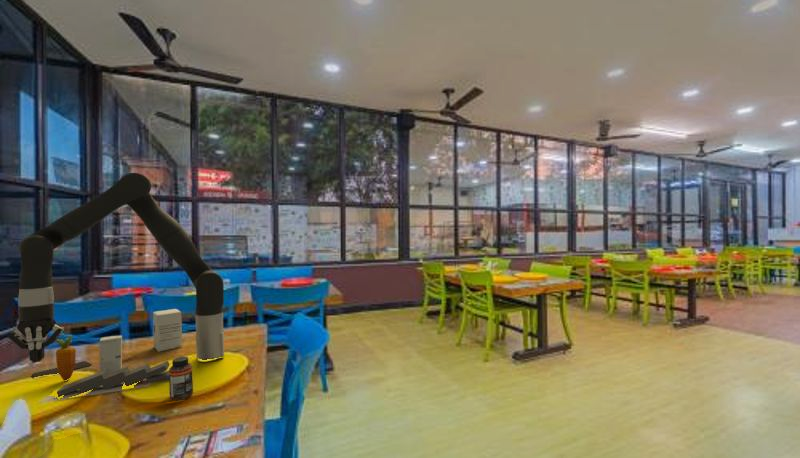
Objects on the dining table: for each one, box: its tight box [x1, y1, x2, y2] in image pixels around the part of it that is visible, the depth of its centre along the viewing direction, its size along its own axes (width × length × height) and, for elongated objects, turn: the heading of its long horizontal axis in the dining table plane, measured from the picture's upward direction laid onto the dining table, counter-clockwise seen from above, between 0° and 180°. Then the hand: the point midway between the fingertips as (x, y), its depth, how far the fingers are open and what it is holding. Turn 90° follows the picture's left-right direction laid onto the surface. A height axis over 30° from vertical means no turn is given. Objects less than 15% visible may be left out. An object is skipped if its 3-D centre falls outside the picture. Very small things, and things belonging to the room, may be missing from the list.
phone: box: [31, 360, 92, 378], centre depth 133 cm, size 7×1×15 cm
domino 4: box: [146, 370, 169, 384], centre depth 123 cm, size 2×5×12 cm
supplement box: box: [152, 308, 183, 353], centre depth 158 cm, size 9×9×15 cm
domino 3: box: [124, 360, 170, 386], centre depth 121 cm, size 2×5×12 cm
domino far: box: [57, 369, 109, 397], centre depth 115 cm, size 2×5×12 cm
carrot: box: [55, 334, 77, 381], centre depth 123 cm, size 5×5×15 cm
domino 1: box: [80, 366, 131, 393], centre depth 117 cm, size 2×5×12 cm
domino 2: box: [103, 363, 151, 390], centre depth 119 cm, size 2×5×12 cm
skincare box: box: [99, 334, 123, 373], centre depth 131 cm, size 6×4×12 cm
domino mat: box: [38, 379, 152, 404], centre depth 117 cm, size 27×10×1 cm, turn 112°
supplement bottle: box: [168, 355, 194, 401], centre depth 110 cm, size 6×6×11 cm
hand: (37, 361), depth 110 cm, fingers closed
